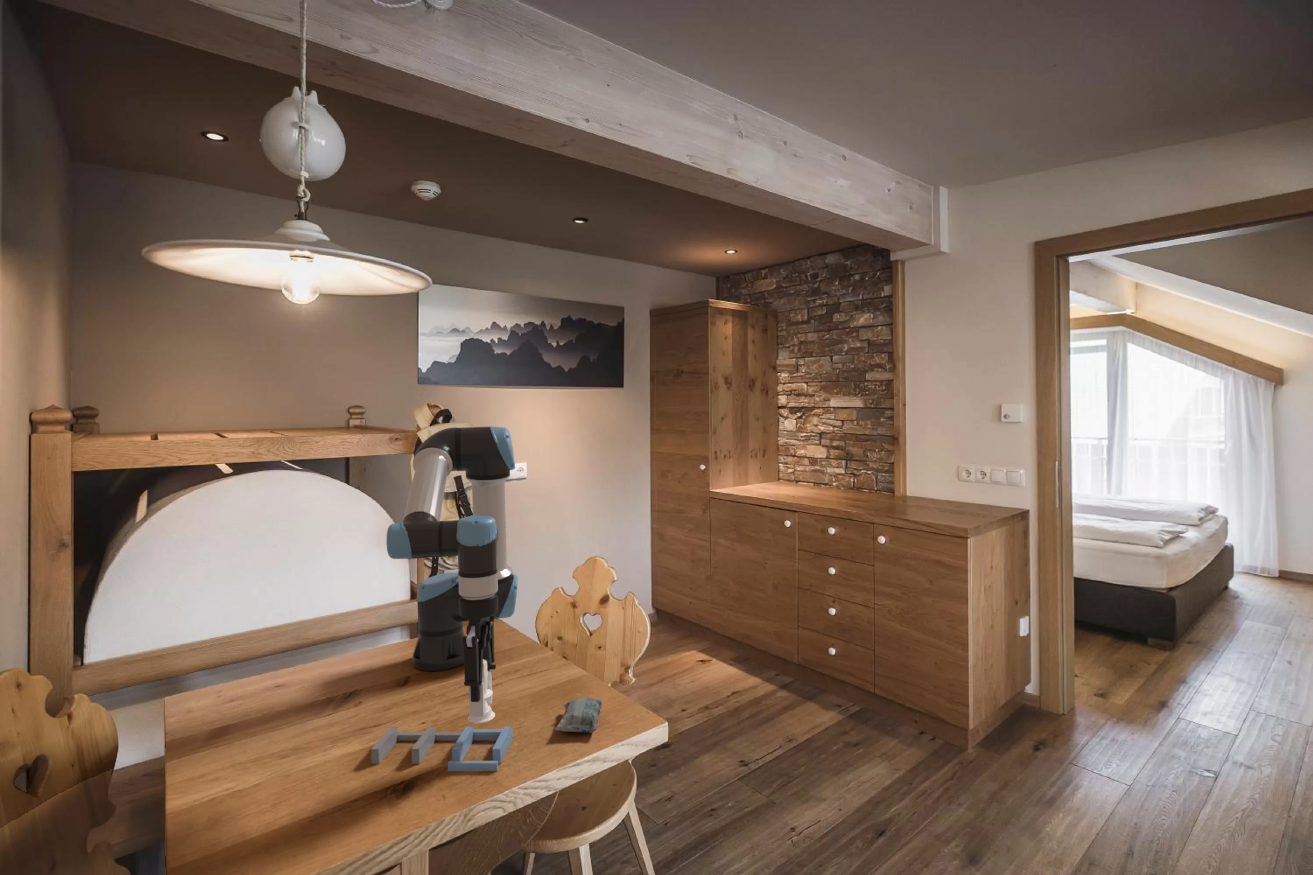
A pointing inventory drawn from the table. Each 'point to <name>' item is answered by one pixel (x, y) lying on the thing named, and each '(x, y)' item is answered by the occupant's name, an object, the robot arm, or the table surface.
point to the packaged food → (580, 716)
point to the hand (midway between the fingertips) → (481, 708)
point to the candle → (487, 693)
